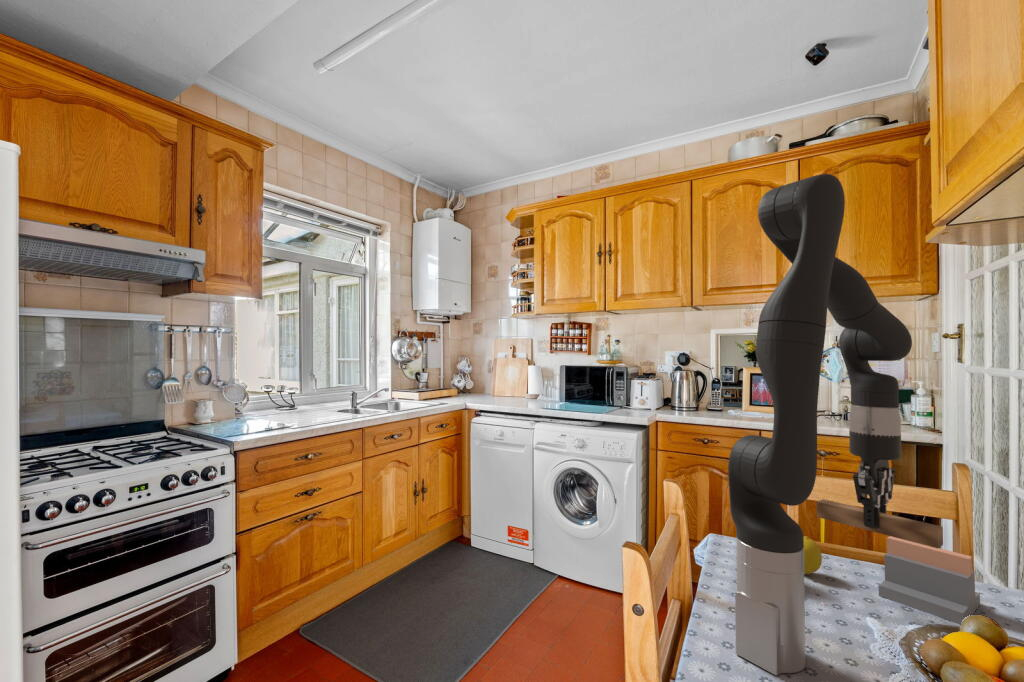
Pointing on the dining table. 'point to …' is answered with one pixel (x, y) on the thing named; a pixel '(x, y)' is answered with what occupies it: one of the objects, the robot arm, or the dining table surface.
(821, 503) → the walnut stick
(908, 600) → the fulcrum stand
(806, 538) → the lemon
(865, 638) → the dining table surface
